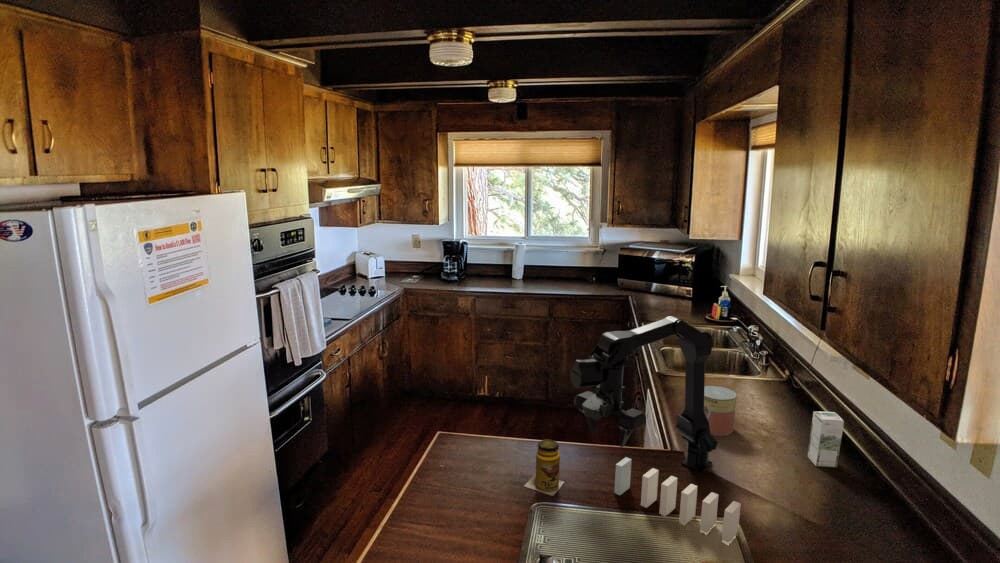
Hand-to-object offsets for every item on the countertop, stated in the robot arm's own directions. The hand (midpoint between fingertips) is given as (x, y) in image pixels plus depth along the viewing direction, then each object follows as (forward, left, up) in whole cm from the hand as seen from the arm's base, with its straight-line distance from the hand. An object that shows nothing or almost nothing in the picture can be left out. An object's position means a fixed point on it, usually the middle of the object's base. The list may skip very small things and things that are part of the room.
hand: (607, 440), depth 144 cm
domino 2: (0, +13, -12) cm, 18 cm away
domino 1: (0, +5, -12) cm, 13 cm away
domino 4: (0, +23, -12) cm, 26 cm away
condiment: (+12, -11, -13) cm, 20 cm away
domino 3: (0, +18, -12) cm, 21 cm away
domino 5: (0, +28, -12) cm, 30 cm away
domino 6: (0, +33, -12) cm, 35 cm away
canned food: (-52, +7, -13) cm, 54 cm away
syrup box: (-52, +38, -13) cm, 66 cm away
